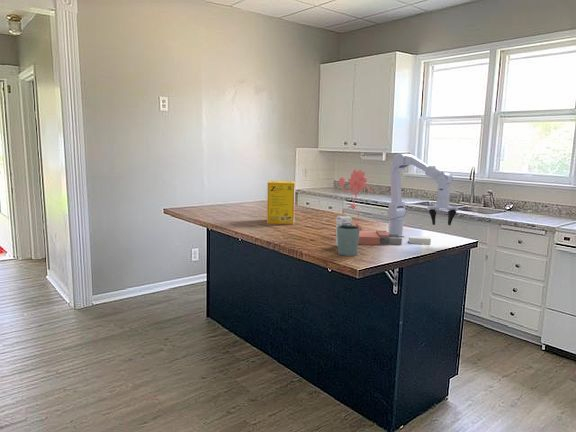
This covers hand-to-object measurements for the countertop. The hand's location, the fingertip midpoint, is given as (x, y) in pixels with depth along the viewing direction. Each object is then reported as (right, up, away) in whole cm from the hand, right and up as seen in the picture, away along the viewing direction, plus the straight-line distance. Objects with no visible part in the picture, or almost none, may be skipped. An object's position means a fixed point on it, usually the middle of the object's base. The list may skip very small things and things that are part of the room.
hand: (441, 224), depth 220 cm
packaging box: (-81, 0, +56) cm, 98 cm away
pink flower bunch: (-39, -5, +26) cm, 47 cm away
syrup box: (-50, -10, -10) cm, 52 cm away
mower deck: (-31, -8, +4) cm, 32 cm away
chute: (-10, -9, +2) cm, 14 cm away
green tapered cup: (-50, -12, -24) cm, 57 cm away
